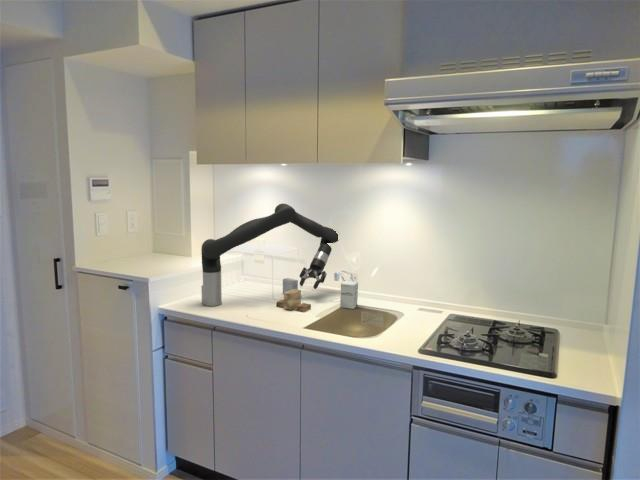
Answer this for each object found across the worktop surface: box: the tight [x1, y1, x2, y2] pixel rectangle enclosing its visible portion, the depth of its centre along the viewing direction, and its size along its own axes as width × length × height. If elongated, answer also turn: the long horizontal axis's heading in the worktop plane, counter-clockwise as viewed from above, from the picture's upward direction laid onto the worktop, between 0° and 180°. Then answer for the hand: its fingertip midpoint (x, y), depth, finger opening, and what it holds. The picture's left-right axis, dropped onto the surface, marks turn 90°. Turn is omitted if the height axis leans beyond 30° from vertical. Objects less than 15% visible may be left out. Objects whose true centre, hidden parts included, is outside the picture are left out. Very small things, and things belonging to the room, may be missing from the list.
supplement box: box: [339, 280, 359, 310], centre depth 237 cm, size 7×7×13 cm
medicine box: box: [282, 277, 299, 295], centre depth 258 cm, size 8×4×9 cm, turn 48°
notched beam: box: [275, 298, 312, 313], centre depth 233 cm, size 17×6×2 cm, turn 58°
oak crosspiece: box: [283, 289, 302, 310], centre depth 232 cm, size 4×9×8 cm, turn 149°
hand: (307, 286), depth 244 cm, fingers open, 8 cm apart
